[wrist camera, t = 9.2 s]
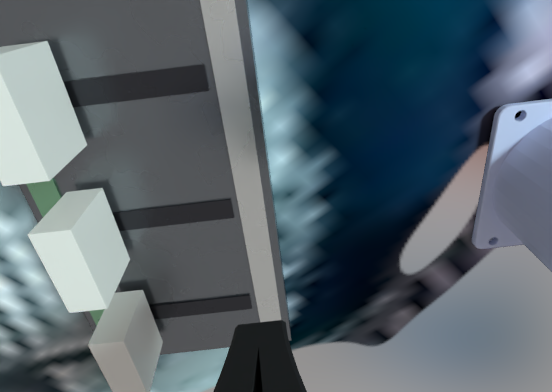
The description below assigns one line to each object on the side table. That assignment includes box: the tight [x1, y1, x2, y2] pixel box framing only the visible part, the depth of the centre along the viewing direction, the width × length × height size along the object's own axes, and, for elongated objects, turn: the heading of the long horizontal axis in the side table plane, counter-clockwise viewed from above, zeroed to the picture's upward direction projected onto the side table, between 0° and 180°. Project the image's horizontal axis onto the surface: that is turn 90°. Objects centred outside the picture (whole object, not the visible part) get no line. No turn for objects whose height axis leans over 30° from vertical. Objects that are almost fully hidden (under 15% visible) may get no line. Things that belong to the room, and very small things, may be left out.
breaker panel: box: [0, 0, 291, 355], centre depth 18 cm, size 11×19×2 cm, turn 6°
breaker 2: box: [88, 290, 163, 392], centre depth 19 cm, size 2×4×3 cm, turn 6°
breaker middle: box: [28, 188, 130, 313], centre depth 16 cm, size 2×4×3 cm, turn 6°
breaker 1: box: [0, 41, 87, 186], centre depth 13 cm, size 2×4×3 cm, turn 6°
